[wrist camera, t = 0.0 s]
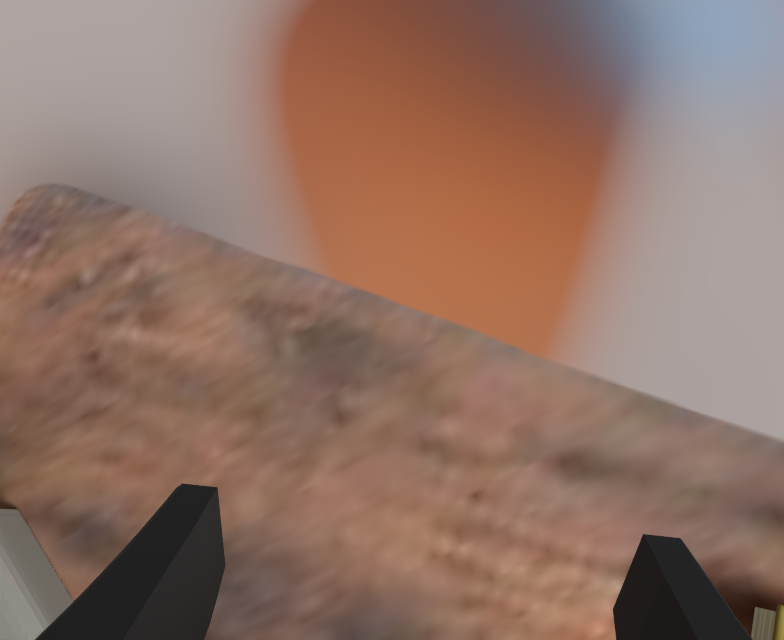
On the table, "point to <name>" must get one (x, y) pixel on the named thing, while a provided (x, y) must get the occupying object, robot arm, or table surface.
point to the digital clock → (26, 582)
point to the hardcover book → (768, 624)
